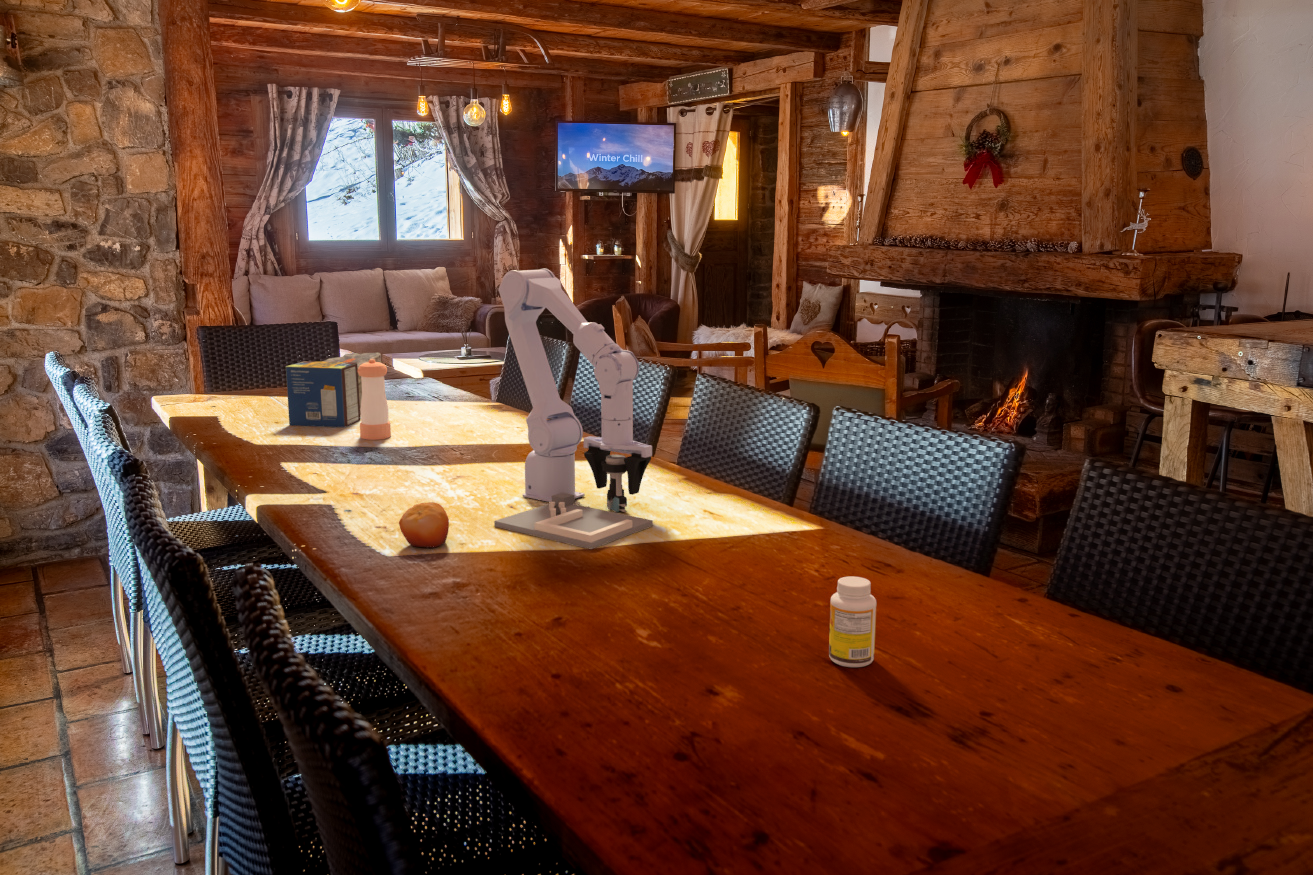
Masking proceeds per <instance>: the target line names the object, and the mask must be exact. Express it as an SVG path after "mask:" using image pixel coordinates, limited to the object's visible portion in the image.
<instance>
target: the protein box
mask: <svg viewBox="0 0 1313 875" xmlns="http://www.w3.org/2000/svg"><path fill="white" fill-rule="evenodd" d="M285 376H286V390H287V407H288V408H287V409H288V423H289V424H288V425H289V426H296V427H298V426H299V427H320V428H321V427H326V428H346V427H348V426H350V425H352V424H354V423H356V422H359V421H361V411H360V409H361V408H360V400H359V384H358V366H357V362H322V361H310V360H309V361H306V360H305V361H304V360H303V361H300V362H297V363H293V364H290V365H286V366H285Z"/></svg>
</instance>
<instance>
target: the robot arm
mask: <svg viewBox="0 0 1313 875" xmlns="http://www.w3.org/2000/svg"><path fill="white" fill-rule="evenodd" d="M498 294H499V296H500V299H501V302H502V305H503V308H504V322H505V326H506V328H507V329H506V330H507V331H508V334H509V337H510V340H511V344H512V347H513V351H514V353H515V356H516V359H517V362H518V365H519V369H520V372H521V374H522V379H523V381H524V384H525V388H526V390H527V394H528V396H529V399H530V403H531V405H532V409H531V411H530V413H529V414H528V416H527V417H526V419H525V421H526V424H527V430H528V432H527V439H528V442H529V446H530V447H531V449H532V450H531V451H530V452H529V453H528V455H527V456H526V459H525V462H524V487H525V488H524V489H525V490H524V492H525V493H522V497H523V498H529V499H534V500H537V501H543V502H548V503H549V502H552V496H553V495H556V494H559V493H567V494H572V495H574V499H575V500H576V499H579V498H582V497H584V496H585V495H586V494H585V493H584V492H580V491H576V460H575V459H576V456H575V455H576V454H575V453H576V451H577V450H578V445H579V444H580V443H581V442H582V439H583V449H587V451H584V452H583V456H584V458H585V459H586V461H587V463H588V464H589V467H590V469H591V471H592V474H593V478H594V480H595V481H594V482H595V485H596V489H602V488H606V487H607V484H608V474H607V473H606V472H605V471H603V470H602V465H601V462H602V461H604V460H606V456H609V455H611V452H613V453H614V452H615V453H620V454H627V455H630V456H627V457H626V456H625V458H624V462H625V465H626V469H627V471H626V473H627V484H628V485H627V486H628V487H627V489H628V494H629V495H635V494H638V493H640V489H641V484H642V480H643V477H644V474H645V472H646V469H647V467H648V465H649V464H650V462H651V460H652V457H653V446H652V445H649V444H646V443H642V442H640V441H639V442H638V441H636V440H634V435H633V434H634V433H633V432H634V431H633V430H634V427H633V426H634V416H633V415H634V414H633V412H634V411H633V410H634V409H633V408H634V399H633V397H634V396H633V394H634V391H633V388H634V387H633V386H634V385H633V384H634V382H633V381H634V380H636V378H637V377H638V375H639V373H640V365H639V360H638V358H637V357H636V356H635V353H634V352H633V351H632V350H631V351H630V350H627V349H623V348H622V347H621V346H620V345H619V344H618V343H615V341H614V340H613V339H612V338H611V337H610V335H608V333H606V331H605V327H604V326H603V325H602V323H600V324H598V323H597V322H594V321H593V322H591V321H590V322H588V320H586V318H585V317H584V316H583V314H582V313H581V312H580V310H579V309H578V307H577V306H576V305H575V304H574V303H573V302H572V300H571V299H570V297H569V296H568V295H567V294H566V293H565V291H564V290H563V289H562V282H561V280H560V279H559V278H558V277H556V276H555V273H554V272H553V271H551V270H549V269H548V268H540V269H527V270H516V269H515V270H514V269H512V270H509V271H507V272H506V273H505V274H504V275H503V278H502V280H501V282H500V284H499V287H498ZM545 309H547V310H548V311H549V312H550V313H551V314H552V315H553V316H554V318H556V319H557V320H558V321H560V323H562V325H563V326H564V327H565V328H566V329H567V330H569V331H570V332H571V334H573V338H572V340H573V345H574V346H575V347H576V348H577V350H579V352H580V353H581V354H582V355H583V356H584V357H585V358H586V359H587V360H588V362H589V363H590V364H591V365H592V366H593V367H594V368H593V373H594V378H595V379H596V381H597V383H598V387H599V388H598V389H599V392H600V395H601V396H600V397H601V398H600V399H601V400H600V401H601V404H600V405H601V406H600V407H601V411H600V412H601V414H600V415H601V416H600V417H601V437H600V436H593V435H592V436H591V435H590V436H586V437H583V436H584V430H583V426H582V424H581V422H580V420H579V419H578V417H577V416H576V415H575V413H574V410H573V408H572V406H571V405H569V404H568V403H566V402H565V401H563V399H561V398H560V393H559V391H558V388H557V384H556V382H555V378H554V376H553V373H552V372H553V371H552V370H551V366H550V363H549V359H548V357H547V353H546V351H545V348H544V345H543V341H542V338H541V336H540V332H539V329H538V326H537V320H538V319H539V316H540V315H541V314H542V313H543V312H544V310H545Z"/></svg>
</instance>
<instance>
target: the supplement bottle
mask: <svg viewBox="0 0 1313 875" xmlns="http://www.w3.org/2000/svg"><path fill="white" fill-rule="evenodd" d="M871 584H872V583H871V581H870V580H869V579H867V578H865V577H861V576H854V575H853V576H844V577H840V578H839V579H838V580H837V587H836V592H835V593H833V594H832V595H831V597H830V604H829V606H830V607H829V609H830V610H829V632H828V634H829V635H828V636H829V640H828V641H829V642H828V643H829V644H828V656H829V658H830V660H831V661H832V662H833V663H834V664H836V665H839V666H841V667H846V668H863V667H866V666H869V665H870V664H872V663H873V661H874V659H875V646H876V645H875V643H876V627H877V626H876V623H877V599H876V598H875V597H874V595H872V593H871V591H872V590H871V588H872V587H871V586H872V585H871Z"/></svg>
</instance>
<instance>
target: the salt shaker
mask: <svg viewBox="0 0 1313 875" xmlns="http://www.w3.org/2000/svg"><path fill="white" fill-rule="evenodd" d="M387 373H388V368H387V365H386V364H385V363H380V362H375V360H374V359H370V360H369V362H367V363H363V364H361V365H360V366H359V368H358V374H359V376H362V377H361V381H362V399H361V408H360V416H361V420H360V423H359V434H360V439H362V440H369V441H370V440H371V441H374V440H384V439H389V438H390V437H392V431H391V429H392V428H391V421H389V404H388V400H387V396H386V386H385V384H386V382H385V376H386V375H387Z"/></svg>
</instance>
